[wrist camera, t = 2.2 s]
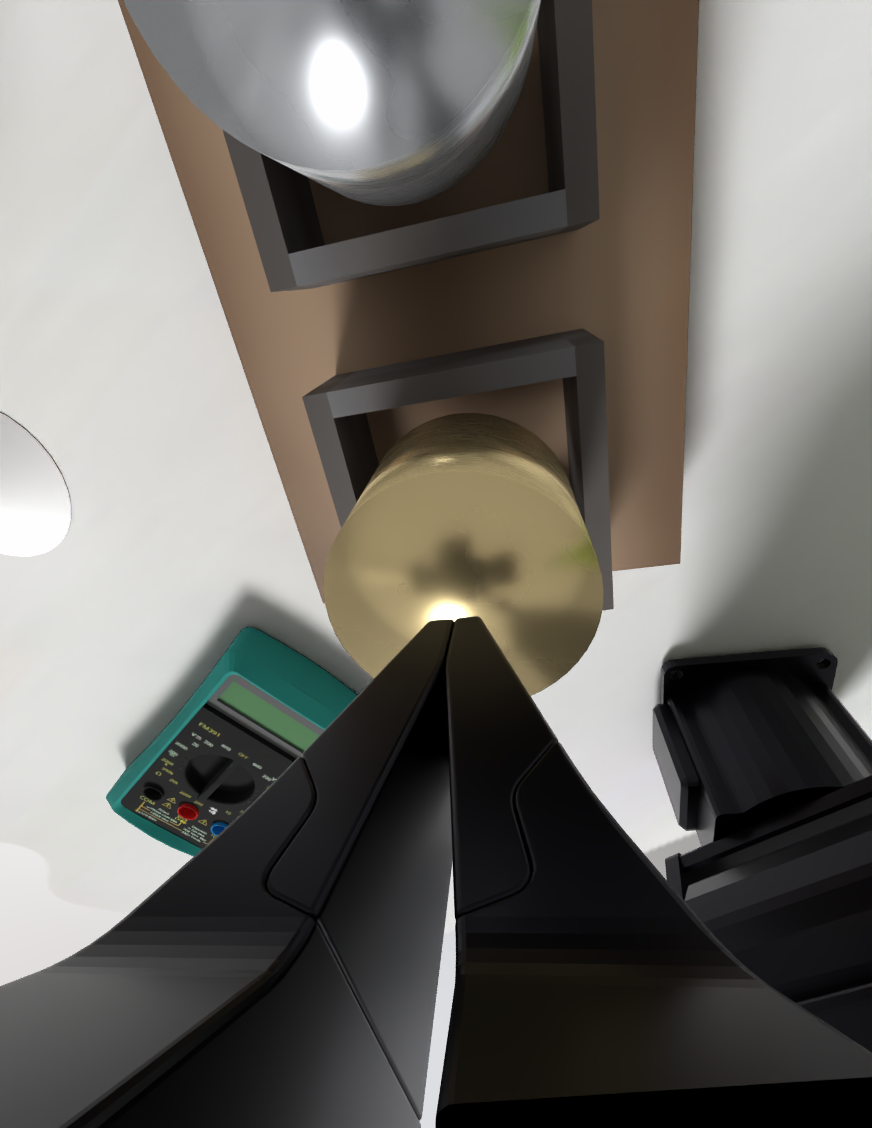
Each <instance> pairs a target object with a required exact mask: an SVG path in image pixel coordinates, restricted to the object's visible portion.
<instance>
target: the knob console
mask: <svg viewBox="0 0 872 1128" xmlns="http://www.w3.org/2000/svg"><path fill="white" fill-rule="evenodd" d="M118 2H119V5H120V8H121V11H122V14H123V17H124V20H125V23H126V25H127V28H128V31H129V34H130V37H131V40H132V43H133V46H134V49H135V52H136V55H137V58H138V61H139V64H140V67H141V70H142V72H143V75H144V78H145V81H146V84H147V87H148V90H149V93H150V96H151V99H152V102H153V105H154V108H155V111H156V114H157V117H158V119H159V122H160V125H161V128H162V131H163V134H164V137H165V140H166V143H167V146H168V149H169V152H170V155H171V158H172V161H173V164H174V166H175V169H176V172H177V175H178V178H179V181H180V184H181V187H182V190H183V193H184V196H185V199H186V202H187V205H188V208H189V210H190V213H191V216H192V219H193V222H194V225H195V228H196V231H197V234H198V237H199V240H200V243H201V246H202V249H203V252H204V255H205V257H206V260H207V263H208V266H209V269H210V272H211V275H212V278H213V281H214V284H215V287H216V290H217V293H218V296H219V299H220V302H221V304H222V307H223V310H224V313H225V316H226V319H227V322H228V325H229V328H230V331H231V334H232V337H233V340H234V343H235V346H236V349H237V351H238V354H239V357H240V360H241V363H242V366H243V369H244V372H245V375H246V378H247V381H248V384H249V387H250V390H251V393H252V396H253V398H254V401H255V404H256V407H257V410H258V413H259V416H260V419H261V422H262V425H263V428H264V431H265V434H266V437H267V440H268V443H269V445H270V448H271V451H272V454H273V457H274V460H275V463H276V466H277V469H278V472H279V475H280V478H281V481H282V484H283V487H284V490H285V492H286V495H287V498H288V501H289V504H290V507H291V510H292V513H293V516H294V519H295V522H296V525H297V528H298V531H299V534H300V537H301V539H302V542H303V545H304V548H305V551H306V554H307V557H308V560H309V563H310V566H311V569H312V572H313V575H314V578H315V581H316V584H317V586H318V589H319V592H320V595H321V598H322V601H323V603H325V597H324V573H325V568H326V563H327V558H328V556H329V553H330V550H331V547H332V545H333V543H334V541H335V539H336V537H337V535H338V534H339V532H340V530H341V528H342V527H343V525H344V523H345V522H346V520H347V518H348V516H349V515H350V513H351V511H352V510H353V508H354V506H355V505H356V503H357V501H358V500H359V498H360V496H361V495H362V493H363V491H364V489H365V488H366V486H367V484H368V483H369V481H370V479H371V478H372V476H373V474H374V473H375V471H376V469H377V467H378V466H379V464H380V462H381V461H382V459H383V457H384V456H385V455H386V453H387V452H388V451H389V450H390V448H391V447H392V446H393V445H394V444H395V443H396V442H397V441H398V440H399V439H400V438H401V437H403V436H404V435H405V434H407V433H408V432H409V431H411V430H412V429H414V428H416V427H417V426H419V425H421V424H423V423H425V422H427V421H430V420H433V419H435V418H438V417H442V416H446V415H451V414H459V413H482V414H488V415H494V416H498V417H501V418H504V419H508V420H510V421H512V422H515V423H517V424H519V425H521V426H523V427H525V428H526V429H528V430H529V431H531V432H532V433H534V434H535V435H536V436H538V437H539V438H540V439H541V440H542V441H543V442H545V443H546V445H547V446H548V447H549V448H550V449H551V450H552V451H553V453H554V454H555V455H556V457H557V458H558V460H559V461H560V463H561V464H562V467H563V469H564V471H565V473H566V475H567V478H568V480H569V483H570V486H571V489H572V491H573V494H574V497H575V499H576V502H577V505H578V508H579V510H580V513H581V516H582V519H583V521H584V524H585V527H586V530H587V532H588V535H589V538H590V540H591V543H592V546H593V549H594V551H595V554H596V557H597V560H598V564H599V567H600V570H601V574H602V582H603V590H604V591H603V608H602V610H609V609H613V581H612V571H617V570H626V569H635V568H644V567H653V566H662V565H671V564H680V552H681V523H682V493H683V463H684V433H685V403H686V373H687V343H688V313H689V284H690V254H691V224H692V194H693V164H694V134H695V104H696V74H697V45H698V15H699V0H541V3H540V9H539V14H538V20H537V26H536V31H535V37H534V43H533V48H532V54H531V59H530V64H529V68H528V71H527V75H526V79H525V82H524V86H523V89H522V92H521V94H520V97H519V99H518V102H517V105H516V107H515V110H514V112H513V114H512V116H511V118H510V120H509V122H508V124H507V126H506V128H505V129H504V131H503V133H502V134H501V136H500V137H499V139H498V140H497V142H496V143H495V145H494V146H493V148H492V149H491V151H490V152H489V153H488V154H487V155H486V157H485V158H484V159H483V160H482V161H481V163H480V164H479V165H478V166H477V167H476V168H475V169H474V170H473V171H471V172H470V173H469V174H468V175H467V176H466V177H465V178H464V179H463V180H461V181H460V182H458V183H457V184H455V185H454V186H453V187H451V188H450V189H448V190H446V191H444V192H442V193H440V194H438V195H436V196H434V197H432V198H430V199H427V200H423V201H420V202H417V203H413V204H407V205H401V206H379V205H373V204H367V203H363V202H359V201H356V200H353V199H350V198H347V197H345V196H343V195H341V194H339V193H337V192H335V191H333V190H331V189H329V188H327V187H326V186H324V185H322V184H320V183H318V182H316V181H314V180H312V179H310V178H308V177H306V176H304V175H302V174H300V173H298V172H297V171H295V170H293V169H291V168H289V167H287V166H285V165H283V164H281V163H279V162H277V161H275V160H273V159H271V158H269V157H268V156H266V155H264V154H262V153H260V152H258V151H256V150H254V149H252V148H250V147H248V146H246V145H245V144H243V143H242V142H240V141H239V140H237V139H236V138H234V137H233V136H231V135H230V134H228V133H227V132H225V131H224V130H222V129H221V128H220V127H219V126H218V125H216V124H215V123H214V122H213V121H212V120H211V119H210V118H208V117H207V116H206V115H205V114H204V113H203V112H202V111H200V110H199V109H198V108H197V107H196V106H195V105H194V104H193V103H192V102H191V100H190V99H189V98H188V97H187V96H186V95H185V94H184V93H183V92H182V91H181V89H180V88H179V87H178V86H177V85H176V84H175V83H174V82H173V80H172V79H171V78H170V76H169V75H168V73H167V72H166V71H165V69H164V68H163V67H162V65H161V64H160V63H159V61H158V60H157V59H156V57H155V56H154V55H153V53H152V51H151V50H150V48H149V46H148V45H147V43H146V41H145V40H144V38H143V36H142V35H141V33H140V31H139V30H138V28H137V26H136V25H135V23H134V22H133V20H132V18H131V15H130V13H129V11H128V9H127V7H126V5H125V3H124V1H123V0H118Z"/></svg>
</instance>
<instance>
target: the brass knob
mask: <svg viewBox="0 0 872 1128" xmlns="http://www.w3.org/2000/svg"><path fill="white" fill-rule="evenodd" d="M603 591H604V590H603V582H602V574H601V570H600V567H599V564H598V560H597V557H596V554H595V551H594V549H593V546H592V543H591V540H590V538H589V535H588V532H587V530H586V527H585V524H584V521H583V519H582V516H581V513H580V510H579V508H578V505H577V502H576V499H575V497H574V494H573V491H572V489H571V486H570V483H569V480H568V478H567V475H566V473H565V471H564V469H563V467H562V464H561V463H560V461H559V460H558V458H557V457H556V455H555V454H554V453H553V451H552V450H551V449H550V448H549V447H548V446H547V445H546V443H545V442H543V441H542V440H541V439H540V438H539V437H538V436H536V435H535V434H534V433H532V432H531V431H529V430H528V429H526V428H525V427H523V426H521V425H519V424H517V423H515V422H512V421H510V420H508V419H504V418H501V417H498V416H494V415H488V414H482V413H459V414H451V415H446V416H442V417H438V418H435V419H433V420H430V421H427V422H425V423H423V424H421V425H419V426H417V427H416V428H414V429H412V430H411V431H409V432H408V433H407V434H405V435H404V436H403V437H401V438H400V439H399V440H398V441H397V442H396V443H395V444H394V445H393V446H392V447H391V448H390V450H389V451H388V452H387V453H386V455H385V456H384V457H383V459H382V461H381V462H380V464H379V466H378V467H377V469H376V471H375V473H374V474H373V476H372V478H371V479H370V481H369V483H368V484H367V486H366V488H365V489H364V491H363V493H362V495H361V496H360V498H359V500H358V501H357V503H356V505H355V506H354V508H353V510H352V511H351V513H350V515H349V516H348V518H347V520H346V522H345V523H344V525H343V527H342V528H341V530H340V532H339V534H338V535H337V537H336V539H335V541H334V543H333V545H332V547H331V550H330V553H329V556H328V558H327V563H326V568H325V573H324V597H325V605H326V609H327V613H328V617H329V620H330V622H331V625H332V627H333V629H334V632H335V634H336V635H337V637H338V639H339V641H340V642H341V644H342V646H343V647H344V648H345V650H346V651H347V652H348V654H349V655H350V656H351V657H352V659H353V660H354V661H355V662H356V663H357V664H358V665H359V666H360V667H361V668H362V669H363V670H365V671H366V672H367V673H368V674H369V675H371V676H372V677H373V678H375V677H376V676H377V675H378V674H379V673H380V672H381V671H382V670H383V669H384V668H385V667H386V665H387V664H388V663H389V662H390V661H391V660H392V659H393V658H394V657H395V656H396V655H397V654H398V653H399V652H400V651H401V650H402V649H403V648H404V647H405V646H406V645H407V644H408V643H409V641H410V640H411V639H412V638H413V637H414V636H415V635H416V634H417V633H418V632H419V631H420V630H421V629H422V628H423V627H424V626H425V625H426V624H427V623H428V622H429V621H433V620H443V619H452V620H454V622H455V620H456V619H457V618H463V617H472V616H479V617H480V618H481V619H482V620H483V622H484V624H485V625H486V627H487V628H488V630H489V631H490V633H491V635H492V636H493V638H494V639H495V641H496V643H497V644H498V646H499V647H500V649H501V650H502V652H503V654H504V655H505V657H506V658H507V660H508V662H509V663H510V665H511V666H512V668H513V669H514V671H515V673H516V674H517V676H518V677H519V679H520V681H521V682H522V684H523V685H524V687H525V688H526V690H527V692H528V693H529V695H530V696H531V695H533V694H536V693H538V692H540V691H542V690H544V689H545V688H547V687H548V686H550V685H552V684H553V683H555V682H556V681H558V680H559V679H560V678H561V677H563V676H564V675H565V674H566V673H568V672H569V670H570V669H571V668H572V667H573V666H574V665H575V664H576V663H577V662H578V661H579V660H580V658H581V657H582V656H583V654H584V653H585V652H586V650H587V649H588V647H589V645H590V643H591V642H592V640H593V638H594V636H595V633H596V631H597V628H598V625H599V622H600V618H601V613H602V608H603Z"/></svg>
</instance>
